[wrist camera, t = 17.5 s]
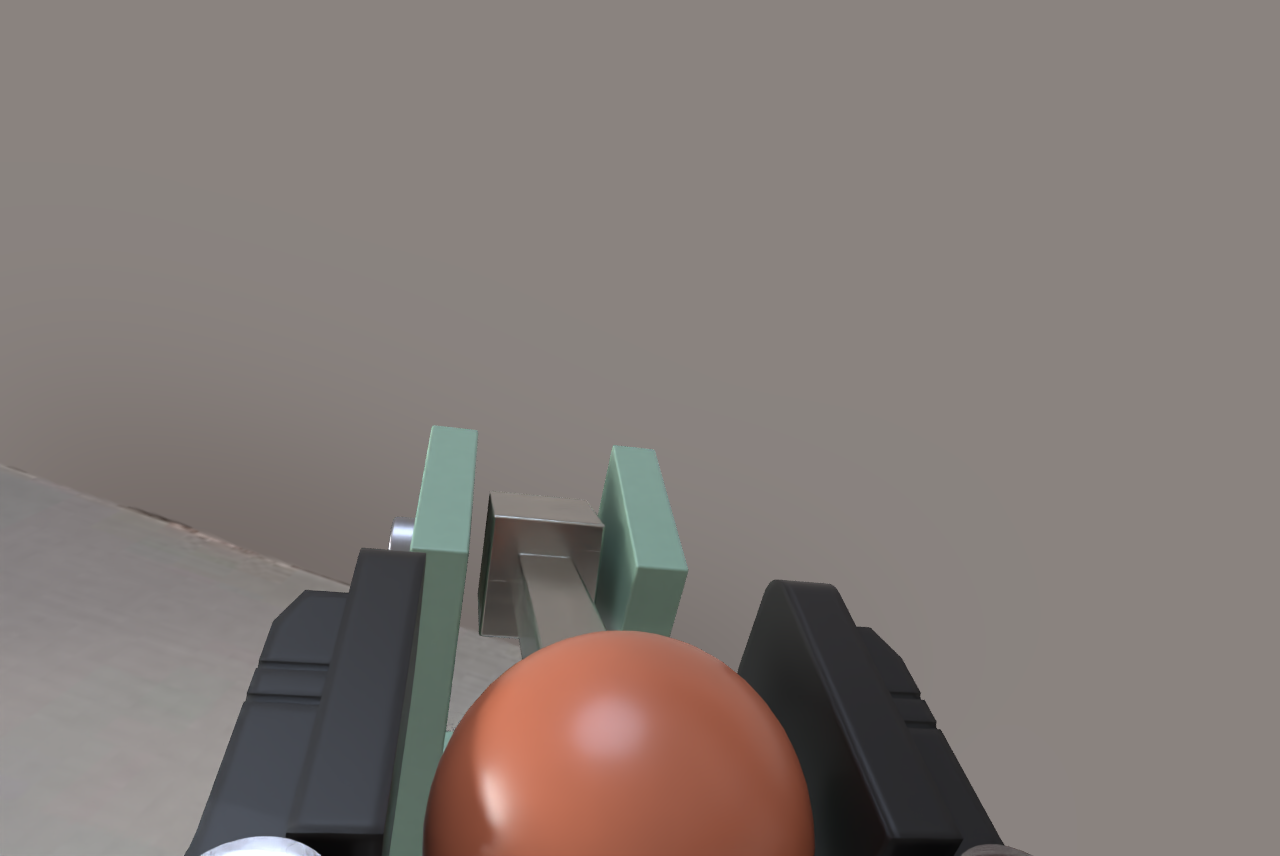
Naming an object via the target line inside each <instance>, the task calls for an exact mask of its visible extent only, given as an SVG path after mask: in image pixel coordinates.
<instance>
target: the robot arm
mask: <svg viewBox="0 0 1280 856" xmlns="http://www.w3.org/2000/svg"><path fill="white" fill-rule="evenodd" d="M425 566H426V553H422V552H409V551H397V550H383V549H371V548H361V550H360V553H359V556H358V560H357V564H356V567H355V571H354V575H353V579H352V583H351V586H350V590H349V593H342V592H328V591H313V590H305V591H304V592H303V593H302V594H301V595H300V596H299V597H298V598H297V599H296V600H295V601H294V602H292V603H291V604H290V605H289V606H288V607H287V608H286V609H285V610H284V611H283V612H282V613H281V614H280V615H279V616H278V617H277V618H276V619H275V620H274V621H273V623H272V626H271V629H270V631H269V634H268V637H267V640H266V642H265V645H264V648H263V651H262V653H261V656H260V659H259V665H258V668H256V670H255V672H254V675H253V678H252V681H251V683H250V686H249V689H248V692H247V697H246V701H245V702H244V703H243V705H242V708H241V711H240V714H239V716H238V719H237V722H236V724H235V727H234V730H233V733H232V735H231V738H230V741H229V744H228V746H227V749H226V752H225V755H224V757H223V760H222V763H221V766H220V768H219V771H218V774H217V776H216V779H215V782H214V785H213V787H212V790H211V793H210V796H209V798H208V801H207V804H206V807H205V809H204V812H203V815H202V818H201V820H200V823H199V826H198V829H197V831H196V834H195V836H194V838H193V840H192V842H191V845H190V847H189V848H188V850H187V851H186V853H185V855H184V856H389V853H390V846H391V839H392V832H393V825H394V818H395V811H396V804H397V797H398V790H399V783H400V775H401V768H402V761H403V754H404V747H405V740H406V733H407V726H408V719H409V712H410V705H411V697H412V689H413V681H414V673H415V664H416V655H417V646H418V636H419V626H420V616H421V606H422V596H423V586H424V576H425ZM737 674H738V675H739V676H741V677H742V678H743V679H744V680H745V681H746V682H747V683H748V684H749V685H750V686H751V687H752V688H753V689H754V690H755V691H756V692H757V693H758V694H759V695H760V697H761V698H762V699H763V700H764V701H765V702H766V703H767V705H768V706H769V708H770V709H771V711H772V712H773V714H774V715H775V717H776V718H777V719H778V721H779V722H780V724H781V725H782V727H783V728H784V730H785V732H786V734H787V736H788V738H789V740H790V742H791V744H792V746H793V748H794V750H795V752H796V755H797V757H798V760H799V762H800V765H801V768H802V771H803V774H804V777H805V780H806V783H807V787H808V792H809V798H810V803H811V808H812V814H813V821H814V837H815V854H814V856H1032V855H1030V854H1028V853H1026V852H1024V851H1021V850H1018V849H1015V848H1012V847H1009V846H1005V845H1004V844H1003V842H1002V840H1001V839H1000V837H999V835H998V833H997V831H996V830H995V828H994V826H993V824H992V822H991V821H990V819H989V817H988V815H987V813H986V811H985V809H984V808H983V806H982V804H981V802H980V800H979V799H978V797H977V795H976V793H975V791H974V789H973V788H972V786H971V784H970V782H969V780H968V778H967V777H966V775H965V773H964V771H963V769H962V767H961V766H960V764H959V762H958V760H957V758H956V757H955V755H954V753H953V751H952V750H951V748H950V746H949V744H948V742H947V740H946V738H945V736H944V735H943V733H942V731H941V730H940V729H937V728H936V720H935V718H934V717H933V715H932V713H931V711H930V709H929V707H928V705H927V704H926V702H925V700H921V698H920V694H921V693H920V691H919V689H918V688H917V685H916V684H915V682H914V680H913V678H912V676H911V674H910V673H909V671H908V669H907V667H906V665H905V663H904V662H903V660H902V658H901V657H900V656H899V655H898V654H897V653H896V652H895V651H894V650H893V649H891V647H890V646H889V645H888V644H886V643H885V641H883V640H882V639H881V638H880V637H879V636H878V635H877V634H876V633H875V632H874V631H873V630H872V629H871V628H869V627H856V625H855V623H854V621H853V619H852V617H851V615H850V613H849V611H848V609H847V607H846V605H845V603H844V601H843V599H842V597H841V595H840V593H839V592H838V590H837V589H836V588H835V587H834V586H833V585H831V584H824V583H812V582H799V581H787V580H773V581H772V582H770V583H769V585H768V587H767V588H766V590H765V593H764V595H763V598H762V601H761V604H760V607H759V610H758V613H757V616H756V619H755V622H754V625H753V627H752V631H751V633H750V636H749V639H748V642H747V645H746V648H745V651H744V654H743V657H742V660H741V663H740V666H739V669H738V673H737Z"/></svg>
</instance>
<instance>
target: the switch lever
mask: <svg viewBox="0 0 1280 856" xmlns="http://www.w3.org/2000/svg"><path fill="white" fill-rule="evenodd" d="M605 528H606V527H605V524H604V523H603V522H602V520H601V519H600V518H599V517H598V515H597V514H596V513H595V511H594V510H593V509H592V507H591V506H590V505H589V503H588V502H587V501H586V500H581V499H570V498H560V497H549V496H539V495H528V494H517V493H507V492H496V491H492V492H490V496H489V504H488V513H487V521H486V529H485V538H484V546H483V555H482V563H481V573H480V580H479V589H478V615H479V635H480V636H484V637H501V638H518V639H519V643H520V649H521V655H522V660H521V661H519V662H518V663H516V664H515V665H513V666H512V667H511V668H509V669H508V670H507V671H506V672H505V673H503V674H502V675H501V676H500V677H499V678H497V679H496V680H495V681H494V682H493V683H492V684H490V685H489V687H488V688H487V689H486V690H485V691H484V692H483V693H482V694H481V696H480V697H479V698H478V699H477V700H476V701H475V702H474V704H473V705H472V706H471V707H470V708H469V709H468V711H467V712H466V714H465V715H464V717H463V718H462V720H461V721H460V723H459V724H458V726H457V727H456V729H455V730H454V732H453V734H452V736H451V738H450V740H449V742H448V744H447V746H446V748H445V750H444V752H443V755H442V757H441V759H440V761H439V763H438V766H437V769H436V772H435V775H434V778H433V781H432V784H431V788H430V792H429V797H428V801H427V807H426V812H425V817H424V823H423V840H422V856H814V854H815V837H814V821H813V814H812V808H811V803H810V798H809V792H808V787H807V783H806V780H805V777H804V774H803V771H802V768H801V765H800V762H799V760H798V757H797V755H796V752H795V750H794V748H793V746H792V744H791V742H790V740H789V738H788V736H787V734H786V732H785V730H784V728H783V727H782V725H781V724H780V722H779V721H778V719H777V718H776V717H775V715H774V714H773V712H772V711H771V709H770V708H769V706H768V705H767V703H766V702H765V701H764V700H763V699H762V698H761V697H760V695H759V694H758V693H757V692H756V691H755V690H754V689H753V688H752V687H751V686H750V685H749V684H748V683H747V682H746V681H745V680H744V679H743V678H742V677H741V676H739V675H738V674H737V673H736V672H734V671H733V670H732V669H731V668H729V667H728V666H727V665H726V664H724V663H723V662H722V661H720V660H718V659H717V658H715V657H713V656H711V655H710V654H708V653H706V652H704V651H702V650H701V649H699V648H697V647H695V646H693V645H690V644H688V643H685V642H682V641H679V640H676V639H673V638H670V637H666V636H662V635H658V634H654V633H648V632H641V631H607V629H606V627H605V625H604V623H603V621H602V619H601V617H600V614H599V612H598V610H597V608H596V598H597V590H598V583H599V575H600V567H601V559H602V551H603V543H604V535H605Z"/></svg>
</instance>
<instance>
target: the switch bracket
mask: <svg viewBox="0 0 1280 856" xmlns="http://www.w3.org/2000/svg"><path fill="white" fill-rule="evenodd" d="M477 443H478V431H477V430H470V429H461V428H452V427H443V426H432V429H431V434H430V440H429V445H428V451H427V457H426V462H425V468H424V473H423V479H422V484H421V491H420V496H419V501H418V507H417V512H416V518H407V517H395V518H394V520H393V524H392V528H391V534H390V540H389V547H388V550H397V551H409V552H422V553H426V566H425V576H424V586H423V596H422V606H421V616H420V626H419V636H418V646H417V655H416V664H415V673H414V681H413V689H412V697H411V705H410V712H409V719H408V726H407V733H406V740H405V747H404V754H403V761H402V768H401V775H400V783H399V790H398V797H397V804H396V811H395V818H394V825H393V832H392V839H391V846H390V853H389V856H422V840H423V823H424V817H425V812H426V807H427V801H428V797H429V792H430V788H431V784H432V781H433V778H434V775H435V772H436V769H437V766H438V763H439V761H440V759H441V757H442V755H443V752H444V750H445V748H446V746H447V744H448V742H449V740H450V738H451V736H452V734H453V732H447V731H446V726H447V718H448V710H449V702H450V695H451V687H452V679H453V672H454V664H455V656H456V648H457V641H458V633H459V625H460V617H461V610H462V602H463V594H464V586H465V578H466V571H467V563H468V555H469V544H470V531H471V519H472V507H473V506H472V505H473V494H474V481H475V467H476V455H477ZM598 517H599V518H600V519H601V520H602V522H603V523H604V524H605V527H606V528H605V535H604V543H603V551H602V559H601V567H600V575H599V583H598V590H597V598H596V608H597V610H598V612H599V614H600V617H601V619H602V621H603V623H604V625H605V627H606V629H607V631H641V632H648V633H654V634H658V635H662V636H666V637H670V634H671V630H672V627H673V623H674V620H675V616H676V613H677V609H678V606H679V602H680V599H681V595H682V591H683V588H684V584H685V580H686V577H687V574H688V568H687V564H686V560H685V557H684V553H683V550H682V546H681V542H680V539H679V535H678V532H677V529H676V525H675V521H674V517H673V514H672V510H671V507H670V503H669V500H668V496H667V492H666V489H665V485H664V482H663V478H662V474H661V471H660V467H659V464H658V460H657V457H656V453H655V450H653V449H643V448H634V447H625V446H616V445H614V446H613V447H612V452H611V456H610V461H609V466H608V470H607V475H606V480H605V485H604V489H603V494H602V499H601V503H600V508H599V513H598Z"/></svg>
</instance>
